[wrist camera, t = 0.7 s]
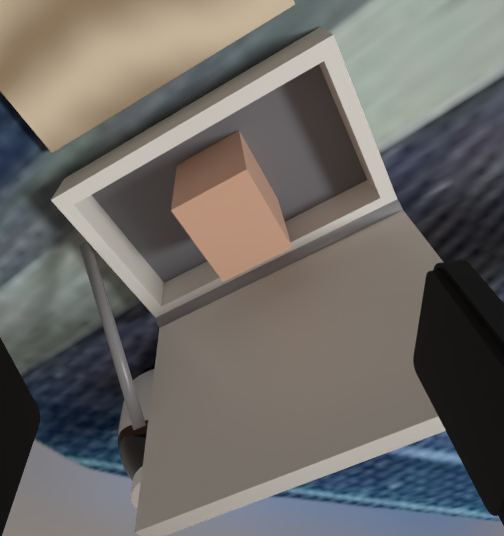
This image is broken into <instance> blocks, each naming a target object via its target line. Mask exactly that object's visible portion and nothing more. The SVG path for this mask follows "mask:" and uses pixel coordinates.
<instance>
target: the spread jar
mask: <svg viewBox="0 0 504 536" xmlns="http://www.w3.org/2000/svg"><path fill="white" fill-rule="evenodd" d="M154 369H155V365H153V366H151V367H150V368H148V369H146V370H145V371H143V372H142V373H140V374H139V375H138V376H137V377H136V378H135V379H134V380H133V383H134V387H135V390H136V393H137V397H138V400H139V403H140V406H141V410H142V413H143V416H144V420H145V423H146V425H145V426H143V427H141V428H138V429H135V430H133V427H132V423H131V420H130V417H129V413H128V410H127V406H126V403H125V400H124V402H123V407H122V412H121V418H120V423H119V432H118V446H119V454H120V458H121V461H122V464H123V466H124V469H125V471H126V472H127V474H128V475H129V477H130V478H131V479H132V481H133V482H132V490H131V502H132V504H133V506H134V507H135V508H136V509H137V508H138V500H139V492H140V484H141V476H142V467H143V459H144V451H145V443H146V435H147V426H148V418H149V410H150V402H151V394H152V385H153V377H154Z"/></svg>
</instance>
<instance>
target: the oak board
mask: <svg viewBox="0 0 504 536" xmlns="http://www.w3.org/2000/svg"><path fill="white" fill-rule="evenodd" d="M293 5H295V3H294V1H293V0H0V91H1V93H2V94H3V95H4V96H5V97H6V99H7V100H8V101H9V102H10V103H11V105H12V106H13V107H14V108H15V109H16V111H17V112H18V113H19V114H20V115H21V117H22V118H23V119H24V120H25V121H26V123H27V124H28V125H29V126H30V127H31V129H32V130H33V131H34V132H35V133H36V135H37V136H38V137H39V138H40V139H41V141H42V142H43V143H44V144H45V145H46V147H47V148H48V149H49V150H50V151H51V153H53V152H54V151H56V150H58V149H59V148H61V147H63V146H64V145H66V144H68V143H69V142H71V141H72V140H74V139H76V138H77V137H79V136H81V135H82V134H84V133H86V132H87V131H89V130H90V129H92V128H94V127H95V126H97V125H99V124H100V123H102V122H104V121H105V120H107V119H108V118H110V117H112V116H113V115H115V114H117V113H118V112H120V111H122V110H123V109H125V108H126V107H128V106H130V105H131V104H133V103H135V102H136V101H138V100H140V99H141V98H143V97H144V96H146V95H148V94H149V93H151V92H153V91H154V90H156V89H158V88H159V87H161V86H162V85H164V84H166V83H167V82H169V81H171V80H172V79H174V78H176V77H177V76H179V75H180V74H182V73H184V72H185V71H187V70H189V69H190V68H192V67H194V66H195V65H197V64H198V63H200V62H202V61H203V60H205V59H207V58H208V57H210V56H212V55H213V54H215V53H216V52H218V51H220V50H221V49H223V48H225V47H226V46H228V45H230V44H231V43H233V42H234V41H236V40H238V39H239V38H241V37H243V36H244V35H246V34H248V33H249V32H251V31H253V30H254V29H256V28H257V27H259V26H261V25H262V24H264V23H266V22H267V21H269V20H271V19H272V18H274V17H275V16H277V15H279V14H280V13H282V12H284V11H285V10H287V9H289V8H290V7H292V6H293Z"/></svg>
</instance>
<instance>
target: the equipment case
mask: <svg viewBox="0 0 504 536" xmlns="http://www.w3.org/2000/svg"><path fill="white" fill-rule="evenodd" d="M238 130H239V131H240V133H241V134H242V136H243V138H244V140H245V142H246V143H247V145H248V147H249V149H250V150H251V152H252V154H253V156H254V158H255V159H256V161H257V163H258V165H259V167H260V168H261V170H262V172H263V174H264V175H265V177H266V179H267V181H268V183H269V184H270V186H271V188H272V190H273V191H274V193H275V195H276V197H277V199H278V201H279V205H280V208H281V211H282V215H283V218H284V222H285V225H286V228H287V232H288V235H289V238H290V242H291V245H292V249H290V250H288V251H285V252H283V253H281V254H279V255H277V256H275V257H273V258H271V259H269V260H267V261H265V262H263V263H261V264H259V265H257V266H255V267H253V268H251V269H249V270H247V271H245V272H243V273H241V274H239V275H237V276H235V277H233V278H231V279H229V280H227V281H225V282H223V281H222V280H221V279H220V277H219V276H218V274H217V273H216V272H215V270H214V269H213V268H212V266H211V265H210V263H209V262H208V261H207V259H206V258H205V257H204V255H203V254H202V252H201V251H200V250H199V248H198V247H197V246H196V244H195V243H194V241H193V240H192V239H191V237H190V236H189V235H188V233H187V232H186V231H185V229H184V228H183V226H182V225H181V224H180V222H179V221H178V220H177V218H176V217H175V215H174V214H173V213H172V211H171V206H172V198H173V191H174V183H175V176H176V168H177V165H178V164H180V163H181V162H183V161H185V160H187V159H189V158H190V157H192V156H194V155H196V154H197V153H199V152H201V151H203V150H204V149H206V148H208V147H210V146H212V145H213V144H215V143H217V142H219V141H220V140H222V139H224V138H226V137H227V136H229V135H231V134H233V133H235V132H236V131H238ZM51 201H52V202H53V203H54V204H55V206H56V207H57V208H58V209H59V210H60V211H61V212H62V213H63V214H64V216H65V217H66V218H67V219H68V220H69V221H70V222H71V223H72V225H73V226H74V227H75V228H76V229H77V230H78V231H79V232H80V234H81V235H82V236H83V237H84V238H85V239H86V240H87V241H88V243H84V244H82V245H80V249H81V253H82V256H83V259H84V263H85V266H86V270H87V273H88V276H89V280H90V283H91V287H92V290H93V294H94V297H95V300H96V304H97V307H98V311H99V314H100V317H101V321H102V324H103V328H104V331H105V335H106V338H107V341H108V345H109V348H110V352H111V355H112V359H113V362H114V365H115V369H116V372H117V376H118V379H119V382H120V386H121V389H122V393H123V396H124V400H125V403H126V406H127V410H128V413H129V417H130V420H131V423H132V427H133V430H135V429H138V428H141V427H143V426H145V425H146V423H145V420H144V416H143V413H142V410H141V406H140V403H139V400H138V397H137V393H136V390H135V387H134V383H133V380H132V377H131V373H130V370H129V367H128V363H127V360H126V357H125V353H124V350H123V347H122V343H121V340H120V337H119V334H118V330H117V327H116V324H115V320H114V317H113V314H112V310H111V307H110V304H109V300H108V297H107V294H106V290H105V287H104V284H103V281H102V277H101V274H100V271H99V267H98V264H97V261H96V257H95V254H94V251H93V248H94V249H95V250H96V251H97V253H98V254H99V255H100V256H101V257H102V258H103V259H104V260H105V262H106V263H107V264H108V265H109V266H110V267H111V268H112V269H113V271H114V272H115V273H116V274H117V275H118V276H119V277H120V278H121V280H122V281H123V282H124V283H125V284H126V285H127V286H128V287H129V288H130V290H131V291H132V292H133V293H134V294H135V295H136V296H137V297H138V299H139V300H140V301H141V302H142V303H143V304H144V305H145V306H146V308H147V309H148V310H149V311H150V312H151V313H152V314H153V315H154V317H155V318H156V323H157V325H158V327H159V336H158V344H157V353H156V361H155V369H154V377H153V385H152V394H151V402H150V410H149V418H148V426H147V435H146V443H145V451H144V459H143V467H142V476H141V484H140V492H139V500H138V508H137V517H136V526H135V533H136V534H138V535H139V536H165V535H168V534H171V533H174V532H176V531H179V530H182V529H184V528H187V527H190V526H192V525H195V524H197V523H200V522H203V521H205V520H208V519H211V518H213V517H216V516H219V515H222V514H224V513H227V512H230V511H232V510H235V509H238V508H240V507H243V506H246V505H248V504H251V503H254V502H256V501H259V500H262V499H264V498H267V497H270V496H272V495H275V494H278V493H280V492H283V491H286V490H288V489H291V488H294V487H297V486H299V485H302V484H305V483H307V482H310V481H313V480H315V479H318V478H321V477H323V476H326V475H329V474H331V473H334V472H337V471H339V470H342V469H345V468H347V467H350V466H353V465H355V464H358V463H361V462H363V461H366V460H369V459H371V458H374V457H377V456H379V455H382V454H385V453H387V452H390V451H393V450H395V449H398V448H401V447H403V446H406V445H409V444H411V443H414V442H417V441H419V440H422V439H425V438H427V437H430V436H433V435H435V434H438V433H441V432H443V431H446V430H445V428H444V426H443V424H442V422H441V420H440V418H439V416H438V415H437V413H436V411H435V409H434V407H433V405H432V403H431V401H430V399H429V397H428V395H427V393H426V391H425V390H424V388H423V386H422V384H421V382H420V380H419V378H418V376H417V374H416V372H415V368H414V364H413V356H414V349H415V343H416V337H417V330H418V324H419V317H420V311H421V305H422V298H423V292H424V285H425V279H426V274H427V272H428V271H432V270H433V269H434V266H435V265H436V264H437V263H442V262H443V261H442V260H441V258H440V257H439V256H438V254H437V253H436V252H435V251H434V249H433V248H432V247H431V245H430V244H429V243H428V242H427V240H426V239H425V238H424V236H423V235H422V234H421V233H420V231H419V230H418V229H417V227H416V226H415V225H414V224H413V222H412V221H411V220H410V218H409V217H408V216H407V215H406V213H405V212H404V211H403V209H402V207H401V205H400V203H399V201H398V200H397V197H396V195H395V192H394V190H393V187H392V184H391V182H390V179H389V177H388V174H387V171H386V169H385V166H384V164H383V161H382V159H381V156H380V153H379V151H378V148H377V146H376V143H375V140H374V138H373V135H372V133H371V130H370V128H369V125H368V122H367V120H366V117H365V115H364V112H363V110H362V107H361V104H360V102H359V99H358V97H357V94H356V91H355V89H354V86H353V84H352V81H351V79H350V76H349V73H348V71H347V68H346V66H345V63H344V61H343V58H342V55H341V53H340V50H339V48H338V45H337V42H336V40H335V37H334V35H333V34H332V33H330V32H328V31H327V30H325V29H324V28H322V27H319V28H317V29H316V30H314V31H312V32H311V33H309V34H307V35H306V36H304V37H302V38H301V39H299V40H297V41H296V42H294V43H292V44H290V45H289V46H287V47H285V48H284V49H282V50H280V51H279V52H277V53H275V54H274V55H272V56H270V57H269V58H267V59H265V60H263V61H262V62H260V63H258V64H257V65H255V66H253V67H252V68H250V69H248V70H247V71H245V72H243V73H242V74H240V75H238V76H236V77H235V78H233V79H231V80H230V81H228V82H226V83H225V84H223V85H221V86H220V87H218V88H216V89H215V90H213V91H211V92H209V93H208V94H206V95H204V96H203V97H201V98H199V99H198V100H196V101H194V102H193V103H191V104H189V105H188V106H186V107H184V108H182V109H181V110H179V111H177V112H176V113H174V114H172V115H171V116H169V117H167V118H166V119H164V120H162V121H161V122H159V123H157V124H155V125H154V126H152V127H150V128H149V129H147V130H145V131H144V132H142V133H140V134H139V135H137V136H135V137H134V138H132V139H130V140H129V141H127V142H125V143H123V144H122V145H120V146H118V147H117V148H115V149H113V150H112V151H110V152H108V153H107V154H105V155H103V156H102V157H100V158H98V159H96V160H95V161H93V162H91V163H90V164H88V165H86V166H85V167H83V168H81V169H80V170H78V171H76V172H75V173H73V174H71V175H69V176H68V177H66V178H64V180H63V181H62V183H61V185H60V186H59V188H58V189H57V191H56V193H55V194H54V196H53V197H52V199H51Z"/></svg>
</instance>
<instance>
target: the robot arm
mask: <svg viewBox="0 0 504 536" xmlns="http://www.w3.org/2000/svg"><path fill="white" fill-rule="evenodd" d="M413 364H414V368H415V372H416V374H417V376H418V378H419V380H420V382H421V384H422V386H423V388H424V390H425V391H426V393H427V395H428V397H429V399H430V401H431V403H432V405H433V407H434V409H435V411H436V413H437V415H438V416H439V418H440V420H441V422H442V424H443V426H444V428H445V430H446V432H447V434H448V436H449V438H450V440H451V441H452V443H453V445H454V447H455V449H456V451H457V453H458V455H459V457H460V459H461V461H462V463H463V465H464V466H465V468H466V470H467V472H468V474H469V476H470V478H471V480H472V482H473V484H474V486H475V488H476V490H477V491H478V493H479V495H480V497H481V499H482V501H483V503H484V505H485V507H486V508H487V510H488V511H489V512H490V514H492V515H493V516H497V515H498V516H499V518H500V519H501V521H502V523H503V525H504V303H503V302H502V301H501V300H500V299H499V298H498V296H497V295H496V294H495V293H494V292H493V291H492V289H491V288H490V287H489V286H488V285H487V284H486V283H485V281H484V280H483V279H482V278H481V277H480V276H479V275H478V273H477V272H476V271H475V270H474V269H473V268H472V267H471V265H470V264H469V263H468V262H466V261H465V260H458V261H450V262H442V263H437V264H436V265H435V266H434V269H433V270H432V271H428V272H427V274H426V279H425V285H424V292H423V298H422V305H421V311H420V317H419V324H418V330H417V337H416V343H415V349H414V356H413ZM39 423H40V413H39V409H38V407H37V405H36V403H35V401H34V399H33V397H32V395H31V394H30V392H29V390H28V388H27V386H26V384H25V382H24V381H23V379H22V377H21V375H20V373H19V371H18V369H17V368H16V366H15V364H14V362H13V360H12V358H11V357H10V355H9V353H8V351H7V349H6V347H5V345H4V344H3V342H2V340H1V338H0V536H2V533H3V530H4V527H5V525H6V522H7V518H8V516H9V513H10V510H11V507H12V504H13V501H14V498H15V495H16V492H17V489H18V486H19V483H20V480H21V477H22V474H23V471H24V468H25V465H26V462H27V459H28V456H29V453H30V450H31V447H32V444H33V441H34V439H35V436H36V433H37V430H38V427H39Z"/></svg>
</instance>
